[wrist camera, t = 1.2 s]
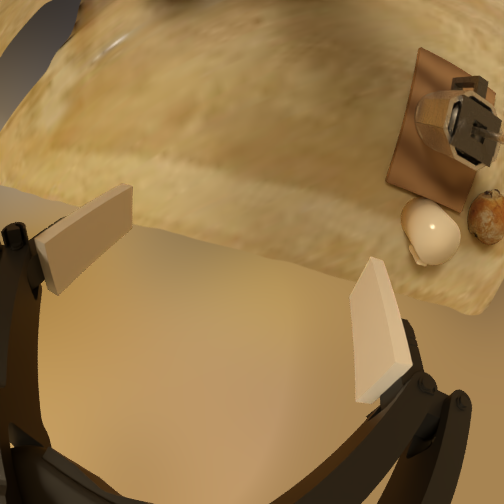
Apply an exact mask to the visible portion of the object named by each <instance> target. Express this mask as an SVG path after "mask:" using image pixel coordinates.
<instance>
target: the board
mask: <svg viewBox="0 0 504 504" xmlns="http://www.w3.org/2000/svg"><path fill="white" fill-rule="evenodd" d="M468 76H471V75H470V74H468V73H466V72H465V71H463V70H462V69H460V68H458V67H457V66H455V65H453V64H452V63H450V62H448V61H446V60H445V59H443V58H441V57H439V56H437V55H435V54H433V53H431V52H429V51H427V50H425V49H423V48H419V49H418V54H417V60H416V66H415V71H414V76H413V81H412V86H411V90H410V95H409V99H408V103H407V107H406V111H405V115H404V119H403V123H402V127H401V130H400V134H399V137H398V141H397V144H396V148H395V151H394V154H393V158H392V161H391V164H390V167H389V170H388V173H387V176H386V179H385V181H386V182H387V183H390V184H393V185H395V186H398V187H401V188H403V189H406V190H408V191H411V192H413V193H416V194H418V195H421V196H423V197H425V198H428V199H430V200H433V201H435V202H437V203H439V204H442V205H444V206H446V207H448V208H450V209H453V210H455V211H457V212H459V213H461V211H462V209H463V206H464V204H465V201H466V199H467V196H468V194H469V191H470V188H471V186H472V183H473V180H474V177H475V174H476V171H475V170H474V169H472V168H470V167H468V166H466V165H464V164H463V163H461V162H459V161H457V160H455V159H453V158H451V157H449V156H447V155H445V154H443V153H441V152H438V151H435V150H433V149H431V148H430V147H428V146H426V145H425V143H424V142H423V141H422V139H421V138H420V136H419V135H418V132H417V130H416V127H415V121H414V114H415V109H416V106H417V104H418V102H419V100H420V99H421V98H422V97H423V96H425V95H427V94H429V93H433V92H437V91H446V90H451V85H452V79H453V78H456V77H468ZM463 90H471V91H473V90H474V88H463ZM495 95H496V93H495V92H494V91H493V90H491V89H490V88H488V87H487V93H486V99H485V100H487V101H488V102H489V103H491V104H492V105H493V106H494V101H495Z"/></svg>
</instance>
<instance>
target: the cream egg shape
mask: <svg viewBox="0 0 504 504" xmlns="http://www.w3.org/2000/svg"><path fill="white" fill-rule="evenodd" d="M401 225H402V228H403V230H404V232H405V233H406V235H407V237H408V238H409V240H410V242H411V244H410V246H409V250H410V252H411V254H412V256H413V258H414V260H415V261H416V263H417V264H419V265H422V266H425V267H426V266H427V264H429V265H439V264H442V263H445V262H446V261H448V260H449V259H450V258H452V256H453V255H454V254H455V253H456V251H457V249H458V247H459V244H460V239H461V234H460V229H459V227H458V225H457V224H456V223H455V222H454V221H453V219H452V218H451V217H450V216H449V215H448V214H447V213H446V212H445V211H444V210H443V209H442V208H441V207H440V206H439V205H438V204H437V203H436V202H435V201H433V200H430V199H428V198H425V197H423V196H420V197H416V198H414V199H412V200H411V201H409V202H408V203H407V204H406V206H405V207H404V209H403V211H402V214H401Z"/></svg>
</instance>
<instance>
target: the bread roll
mask: <svg viewBox="0 0 504 504" xmlns="http://www.w3.org/2000/svg"><path fill="white" fill-rule="evenodd" d="M468 224H469V231H470V233H474V234H475V236H476V237H478V239H479V240H480V241H481V242H483V243H484V244H487V245H491V244H495V243H497V242H498V241H499V240H501V239H502V238H503V236H504V197H503V196H502V195H501V194H500V192H499V191H498V190H497V189H494V190H491V191H486V192H484V193H482V194H480V195H479V196H478V197H477V198H476V199H475V200H474V201H473V202H472V204H471V207H470V209H469V215H468Z"/></svg>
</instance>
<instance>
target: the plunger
mask: <svg viewBox="0 0 504 504" xmlns="http://www.w3.org/2000/svg"><path fill="white" fill-rule="evenodd" d="M458 107H459V103H457V104H456V105H454V106H453V108H452V113H451V117H450V121H449V125H448V131H449V134H450V136H451V135H452V132H453V128H454V124H455V120H456V116H457V112H458ZM470 137H472V138H474V139H475V140H477V141H478V142H480V141H481V137H484V138H487V139H490V140H493V141H496V142H499V143H501V144H504V135H502V134H499V133H495V132H492V131H489V130H485V129H484V126H482V125H481V124H479V123H478V122H476V121H475V120H474V122H473V126H472V130H471V134H470ZM455 148H456V147H455ZM456 149H457V150H458V151H459V152H461V153H462V154H464V155H466V156H469V157H472V156H470V155H468V154H466V153H465V152H463V151H461V150H459V149H458V148H456Z"/></svg>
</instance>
